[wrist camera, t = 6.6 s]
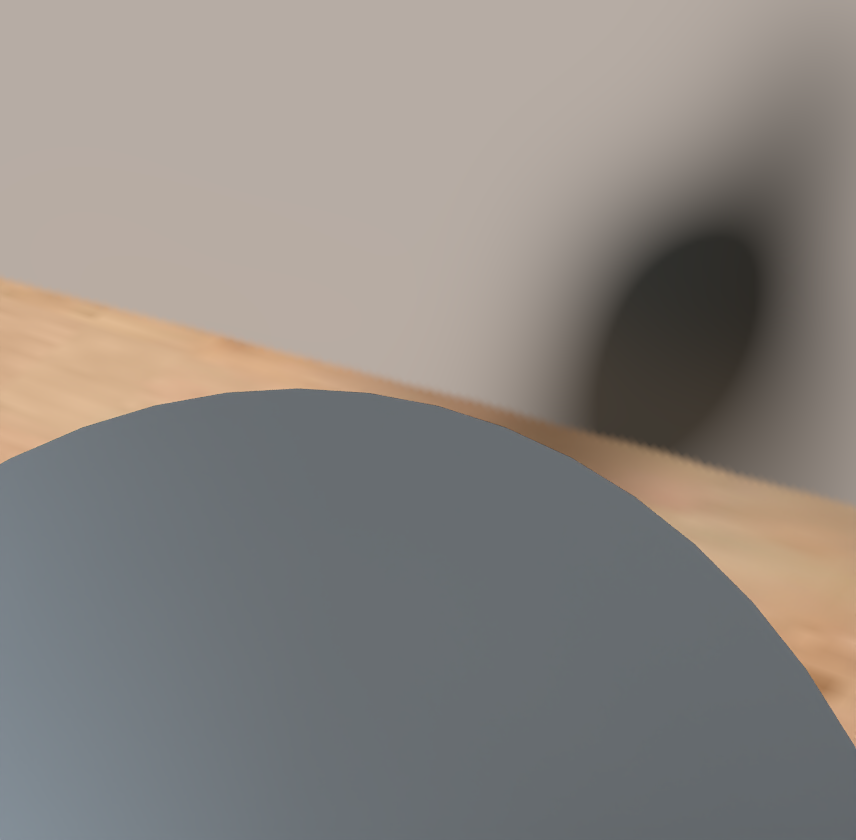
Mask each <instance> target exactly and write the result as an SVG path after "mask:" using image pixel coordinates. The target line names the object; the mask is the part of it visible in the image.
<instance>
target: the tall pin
mask: <svg viewBox="0 0 856 840" xmlns="http://www.w3.org/2000/svg"><path fill="white" fill-rule="evenodd" d="M0 840H856V748H855V746H854V744H853V743H852V741H851V740H850V738H849V736H848V735H847V733H846V732H845V730H844V728H843V727H842V725H841V724H840V722H839V721H838V719H837V717H836V716H835V714H834V713H833V711H832V709H831V708H830V706H829V705H828V703H827V702H826V700H825V698H824V697H823V695H822V694H821V692H820V691H819V689H818V687H817V686H816V684H815V683H814V681H813V679H812V678H811V676H810V675H809V673H808V672H807V670H806V668H805V667H804V666H803V665H802V663H801V662H800V661H799V660H798V658H797V657H796V656H795V655H794V653H793V652H792V651H791V650H790V648H789V647H788V646H787V645H786V643H785V642H784V641H783V640H782V638H781V637H780V636H779V635H778V633H777V632H776V631H775V630H774V628H773V627H772V626H771V625H770V623H769V622H768V621H767V620H766V618H765V617H764V616H763V615H762V613H761V612H760V611H759V610H758V608H757V607H756V606H755V605H754V603H753V602H752V601H751V600H750V599H749V598H748V597H747V596H746V595H745V594H744V593H743V592H742V591H741V590H740V589H739V588H738V587H737V586H736V585H735V584H734V583H733V582H732V581H731V580H730V579H729V578H728V577H727V576H726V575H725V574H724V573H723V572H722V571H721V570H720V569H719V568H718V567H717V566H716V565H715V564H714V563H713V562H712V561H711V560H710V559H709V558H708V557H707V556H706V555H705V554H704V553H703V552H702V551H701V550H700V549H699V548H698V547H697V546H696V545H695V544H694V543H692V542H691V541H690V540H689V539H687V538H686V537H685V536H684V535H682V534H681V533H680V532H678V531H677V530H676V529H675V528H673V527H672V526H671V525H670V524H668V523H667V522H666V521H665V520H663V519H662V518H661V517H660V516H658V515H657V514H656V513H654V512H653V511H652V510H651V509H649V508H648V507H647V506H646V505H644V504H643V503H642V502H641V501H639V500H638V499H637V498H636V497H634V496H633V495H631V494H629V493H628V492H626V491H624V490H623V489H621V488H620V487H618V486H616V485H615V484H613V483H611V482H610V481H608V480H607V479H605V478H603V477H602V476H600V475H598V474H597V473H595V472H594V471H592V470H590V469H589V468H587V467H585V466H584V465H582V464H581V463H579V462H577V461H576V460H574V459H572V458H571V457H568V456H566V455H564V454H562V453H560V452H558V451H555V450H553V449H551V448H549V447H547V446H545V445H542V444H540V443H538V442H536V441H534V440H531V439H529V438H527V437H525V436H523V435H521V434H518V433H516V432H514V431H512V430H510V429H508V428H505V427H502V426H499V425H496V424H493V423H490V422H486V421H483V420H480V419H477V418H474V417H471V416H468V415H464V414H461V413H458V412H455V411H452V410H449V409H446V408H443V407H439V406H435V405H430V404H424V403H419V402H414V401H408V400H403V399H398V398H392V397H387V396H382V395H376V394H371V393H360V392H344V391H328V390H312V389H283V390H266V391H249V392H232V393H223V394H217V395H212V396H206V397H200V398H195V399H189V400H184V401H178V402H173V403H167V404H161V405H156V406H152V407H149V408H145V409H142V410H139V411H135V412H132V413H129V414H126V415H122V416H119V417H116V418H112V419H109V420H106V421H102V422H99V423H96V424H93V425H89V426H86V427H83V428H80V429H78V430H76V431H73V432H71V433H69V434H66V435H64V436H62V437H59V438H57V439H55V440H52V441H50V442H48V443H45V444H43V445H41V446H38V447H36V448H34V449H31V450H29V451H27V452H24V453H22V454H20V455H17V456H15V457H13V458H10V459H9V460H7V461H5V462H3V463H2V464H0Z"/></svg>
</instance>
